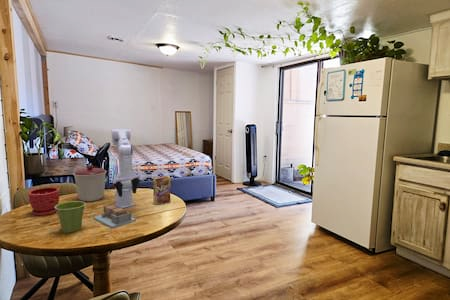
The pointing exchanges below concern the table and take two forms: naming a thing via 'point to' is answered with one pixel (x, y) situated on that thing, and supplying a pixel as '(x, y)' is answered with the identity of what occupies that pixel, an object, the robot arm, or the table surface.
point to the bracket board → (115, 220)
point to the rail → (113, 211)
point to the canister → (90, 183)
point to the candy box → (161, 190)
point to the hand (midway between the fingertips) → (127, 194)
